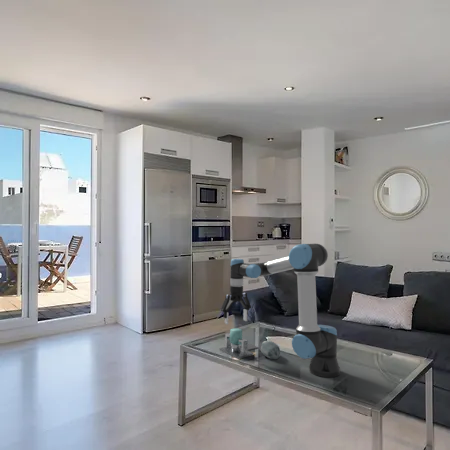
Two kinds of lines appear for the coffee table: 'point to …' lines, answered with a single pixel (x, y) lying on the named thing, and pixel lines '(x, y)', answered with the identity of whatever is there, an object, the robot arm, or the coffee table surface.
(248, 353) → the grey metal fixture
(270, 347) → the grey green ovoid
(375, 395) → the coffee table surface
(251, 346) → the pad
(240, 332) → the cap
